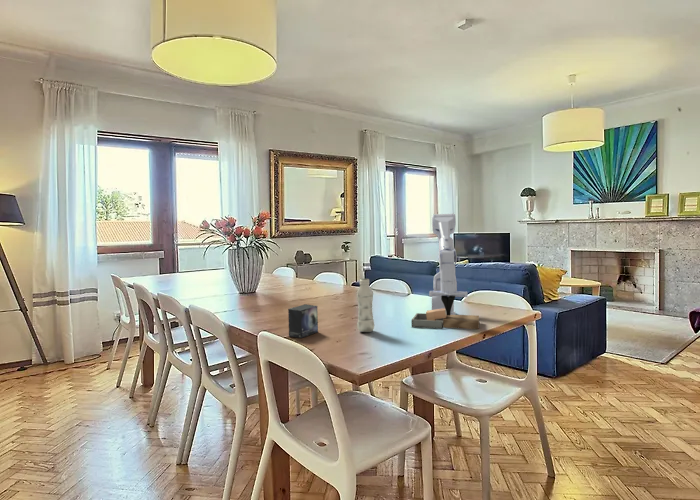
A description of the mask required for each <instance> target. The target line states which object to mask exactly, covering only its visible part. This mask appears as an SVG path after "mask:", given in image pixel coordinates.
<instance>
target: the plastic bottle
mask: <svg viewBox="0 0 700 500" xmlns="http://www.w3.org/2000/svg"><path fill="white" fill-rule="evenodd" d="M370 284H371V283H370V279H369V278H360V279H359V287H358V289H357V291H356V301H357V308H358V309H357V310H358V314H357V317H358V318H357V324H356V326H357V330H358V331H359V332H361V333H370V332H373V331H374V329H375V321H374V316H373V315H374V314H373V313H374V312H373V300H374V291H373V290H372V287H370Z"/></svg>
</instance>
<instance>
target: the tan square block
mask: <svg viewBox="0 0 700 500" xmlns="http://www.w3.org/2000/svg"><path fill="white" fill-rule="evenodd" d="M433 311H434V310H432V309H428V310H426V312H425V314H426V317H427V320H432V321H436V319H434V313H433Z"/></svg>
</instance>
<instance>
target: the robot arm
mask: <svg viewBox="0 0 700 500" xmlns="http://www.w3.org/2000/svg"><path fill="white" fill-rule="evenodd" d="M431 225H432V233H433V235H436V237H437V239H438V263H439V265H438V266H439V272H437V273H436V274H435V275H434V276H433V282H432V283H433V286H432V287H433V290H429V292H428V294H429V295H428V296H429V297H430V298H431V310H434V309H442V308H445V309H446V313H447V315H456V311H455V310H454V309H455V306H454V305H455V304H454V303H455V299H456V298H468V291H460V290H459V291H458V283H457V276H456V264H457V262H458V261H457V251H456V248H455V244H454V239H453V237H451V235H452V234H454V232H455V229H456V214H455V212H453V213H433V214H432V215H431Z"/></svg>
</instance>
